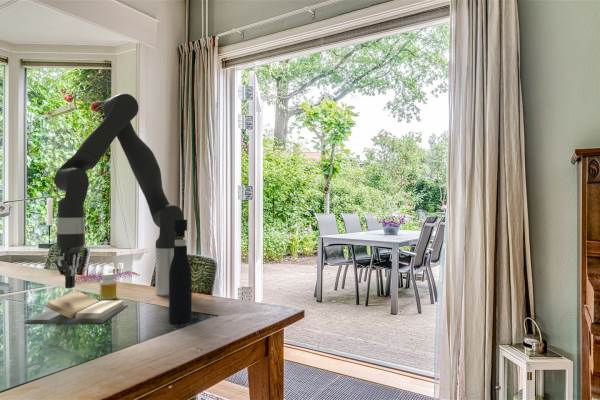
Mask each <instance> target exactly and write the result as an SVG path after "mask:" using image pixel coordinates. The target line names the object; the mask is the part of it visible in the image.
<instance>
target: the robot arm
mask: <svg viewBox="0 0 600 400" xmlns="http://www.w3.org/2000/svg"><path fill="white" fill-rule="evenodd" d="M102 112H103V115H104V117H105V119H104V120H103V121H102V122H101V123H100V124H99V125H98V126H97V127H96V128H95V129H94V130H93V131H92V132H91V133H90V134H89V135H87V137H86V138H85V139H84V141H83V142H82V143H81V145H80V146H79V147H78V148H77V150H76V152H75V153H74V154H73V155H72V156H71V157H70V158H68V160H66V161H65V162H64V163H63V164H62V165H61V166H60V167H59V168H58V170H57V171H56V173H55V175H54V179H53V182H54V185H55V186H56V188H57V189H58V190H60V191H64V192H65V195H64V197H63V198H61V199H60V200H59V201H58V206H57V223H56V247H57V248H58V249H60V253H59V258H58V259H56V260H54V264H55V266H56V267H57V270H58V272H59V274H60V275H61V276H64V277H65V278H64V280H65V281H64V282H65V283H64V285H65V286H64V287H65V289H73V288H75V287H76V282H75V278H76V276H77V273H80V271H81V267H82V265H83V263H84V260H85V255H81V249H80V248H83V247H85V219H84V214H85V212H84V211H85V210H84V209H85V200H86V198H87V193H88V191H89V186H90V179H89V175H88V173H87V171H90V170H92V169H94V168H96V166H97V164H98V163H99V162H100V161H101V159H102V157H103V156H104V154H105V153H106V151H107V150H108V148H109V147H110V146H111V144H112V142H114V140H115V139H116V138H117V141H118V142H119V144H120V146H121V149H122V150H123V153H124V154H125V157H126V159H127V162H128V164H129V167H130V169H131V171H132V173H133V175H134V176H135V177H134V178H135V179H136V181H137V183H138V186H139V188H140V190H141V192H142V193H143V195H144V197H145V200H146V203H147V205H148V209H149V212H150V215H151V216H150V217H151V218H152V221H153V223H154V224H155V226H157V227H158V228H159V235H158V238H157V239H156V240H155V288H154V289H155V290H154V291H155V295H156V296H166V297H167V296H169V270H170V265H171V262H172V259H173V256H174V246H175V240H176V239H184V238H176V231H174V220H185V217H184V213H183V210H182V209H181V207H179V206H178V205H174V204H170V202H169V200H168V199H167V196H166V194H165V191H164V189H163V181H162V171H161V169H160V166H159V163H158V161H157V158H156V156H155V154H154V152H153V150H151V148H150V147H149V146H148V145H147V144H146V143H145V142H144V141H143V140H142V139H141V138H140V137H139V135H138V134H137V132H136V131H135V129H134V127H133V124H132V122H131V121H132V120H133V119H135V117H136V116H137V115H138V113H139V103H138V101H137V99H136V98H135V96H133V95H131V94H129V93H119V94H116V95H113V96H112V97H110V98H108V99H106V100H105V101H104V103H103V105H102Z"/></svg>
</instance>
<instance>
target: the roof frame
mask: <svg viewBox="0 0 600 400" xmlns="http://www.w3.org/2000/svg"><path fill="white" fill-rule="evenodd" d="M102 274H106V273H102V272H100V273H99V272H98V273H95V274H94V273H93V272H92V273H89V274H84V275H82V276H77V278H78V279H76V280H79V278H80V280H82V278H84V280H85V279H86V278H87V277H88V278H90V279H92V278H93V279H94V280H93V281H94V282H96V281H97V280H98V278H99V279H102ZM113 274H114V279H115V280H116V281H118V279H120V278H121V279H122V277H123V278H129V277H133V276H138V277H139V276H141V274H138V273H136V272H134V271H130V270H127V271H124V272H123V271H122V272H116V273H115V272H113ZM85 277H86V278H85ZM88 278H87V279H88ZM96 278H97V279H96ZM76 280H75V283H76V282H77V283H78V282H80V280H79V281H76ZM82 281H83V280H82ZM82 281H81V282H82ZM99 281H100V280H98V281H97V282H99ZM83 282H84V281H83ZM85 282H86V283H88V280H85Z"/></svg>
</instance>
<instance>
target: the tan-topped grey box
mask: <svg viewBox="0 0 600 400" xmlns="http://www.w3.org/2000/svg"><path fill="white" fill-rule="evenodd" d="M128 306H129V305H128V304H124V300H116V299H113V300H99V302H98V303H96V304H93V305H91V306H89V307H87V308H85V309H83V310H81V311H79V312H77V313H76V316H75V317H73V318H68V317H66V316H64V315H62V314H60V313H58V312H55V311H53V310H51V309H48V310H46V311H43V312H40V313H39V314H36V315H34V316H32V317H30V318H27V319H26V320H25V322H26V324H104V322H106V321H108V320H109V319H111V318H112V317H114V316H115V315H117V314H118V313H120V312H121V311H123V310H124V309H125V308H127V307H128Z"/></svg>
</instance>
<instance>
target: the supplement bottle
mask: <svg viewBox="0 0 600 400" xmlns="http://www.w3.org/2000/svg"><path fill="white" fill-rule="evenodd" d="M113 273H114V272H113ZM113 273H112V272H110V273H106V274H105V273H103V274H102V273H101V275H102V278H101V279H102V280H99V281H100V282H99V301H112V300H116V299H117V280H115V278H114V274H113Z"/></svg>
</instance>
